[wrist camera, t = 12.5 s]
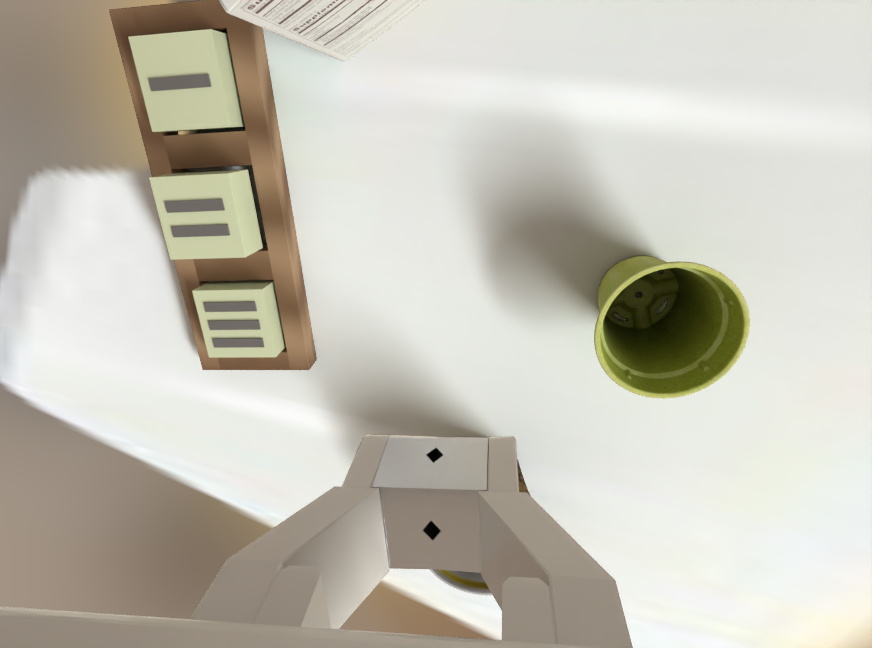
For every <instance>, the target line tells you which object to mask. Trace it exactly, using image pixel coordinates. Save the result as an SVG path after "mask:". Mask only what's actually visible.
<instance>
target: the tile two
mask: <svg viewBox="0 0 872 648" xmlns="http://www.w3.org/2000/svg"><path fill="white" fill-rule="evenodd" d="M149 180H150V184H151V188H152V191H153V195H154V199H155V203H156V207H157V210H158V214H159V218H160V222H161V225H162V229H163V233H164V237H165V241H166V244H167V248H168V252H169V256H170V260H177V259H212V258H245V257H247V256H249V255H251V254H253V253H255V252H256V251H258V250H260V249H262V248H263V246H262V241H261V236H260V230H259V225H258V220H257V215H256V209H255V204H254V199H253V194H252V188H251V183H250V178H249V173H248V170H230V171H211V172H192V173H174V174H168V175H161V176H155V177H149Z"/></svg>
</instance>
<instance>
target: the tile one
mask: <svg viewBox="0 0 872 648" xmlns="http://www.w3.org/2000/svg"><path fill="white" fill-rule="evenodd" d="M128 38H129V42H130V46H131V50H132V54H133V58H134V62H135V66H136V70H137V74H138V78H139V82H140V86H141V90H142V93H143V97H144V101H145V105H146V109H147V113H148V117H149V121H150V125H151V129H152V132H166V131H187V130H203V129H218V128H234V127H245V124H244V119H243V113H242V108H241V103H240V97H239V92H238V87H237V81H236V76H235V71H234V65H233V60H232V55H231V49H230V44H229V39H228V34H225V33H222V32H219V31H216V30H213V29H206V30H196V31H185V32H174V33H163V34H152V35H141V36H130V37H128Z"/></svg>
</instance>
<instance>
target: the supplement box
mask: <svg viewBox="0 0 872 648" xmlns="http://www.w3.org/2000/svg"><path fill="white" fill-rule="evenodd" d="M219 1H220V3H221V5H222V7H223V8H224V10H225V11H226V12H227V13H229V14H231V15H233V16H236V17H238V18H241V19H243V20H245V21H248V22H250V23H253V24H255V25H257V26H260V27H262V28H265V29H267V30H269V31H272V32H274V33H277V34H279V35H282V36H284V37H287V38H289V39H292V40H294V41H297V42H299V43H301V44H304V45H306V46H309V47H311V48H313V49H316V50H318V51H320V52H323V53H325V54H328V55H330V56H332V57H335V58H337V59H340V60H342V61H347V60H349V59H350V58H352V57H353V56H354V55H356V54H357V53H358V52H360V51H361V50H362V49H364V48H365V47H366V46H367V45H369V44H370V43H371V42H373V41H374V40H375V39H377V38H378V37H379V36H380V35H382V34H383V33H384V32H386V31H387V30H388V29H390V28H391V27H392V26H393V25H395V24H396V23H397V22H399V21H400V20H401V19H402V18H404V17H405V16H406V15H408V14H409V13H410V12H412V11H413V10H414V9H415V8H417V7H418V6H419V5H421V4H422V3H423V2H425V1H426V0H219Z"/></svg>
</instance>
